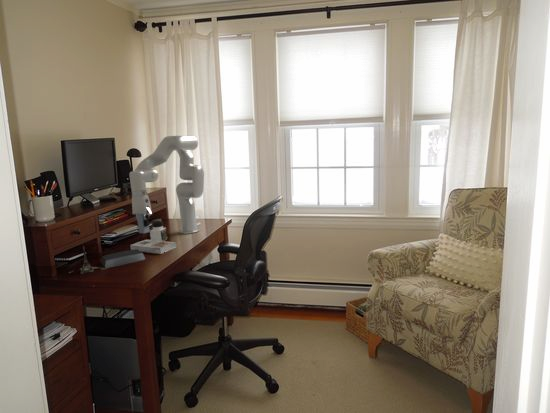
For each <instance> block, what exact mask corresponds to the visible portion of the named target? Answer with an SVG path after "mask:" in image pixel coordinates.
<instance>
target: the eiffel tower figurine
mask: <svg viewBox="0 0 550 413" xmlns="http://www.w3.org/2000/svg"><path fill="white" fill-rule="evenodd" d="M82 249H83V265H82V267H81V268H80V274H88V273H93V272H94V270H95V269H100V270H102V271H105V270H107V269H108V268H105V267H99V266H91V264H90V263H89V261H88V259H87V255H86V251H85V246H84V245H83V246H82ZM72 272H74V270H72V271H70V272H68V274H70V273H72Z"/></svg>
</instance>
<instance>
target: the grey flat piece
mask: <svg viewBox="0 0 550 413" xmlns="http://www.w3.org/2000/svg"><path fill="white" fill-rule="evenodd" d="M176 248H177V242H175V241H166V240H165V241H157V240H151V239H144V240H141V241H137V242H135V243H133V244H130V250H135V249H138V250H139V251H140V252H142V253H152V254H158V255H159V254H160V255H161V254H165V253H166V252H167V253H168V252H169V251H172V250H174V249H176ZM164 252H165V253H164Z"/></svg>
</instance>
